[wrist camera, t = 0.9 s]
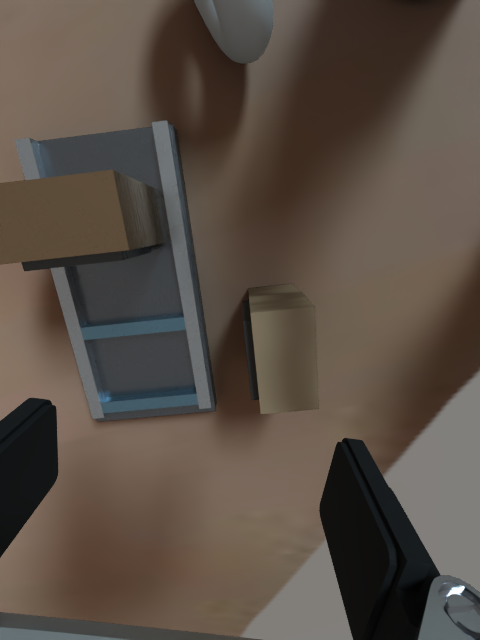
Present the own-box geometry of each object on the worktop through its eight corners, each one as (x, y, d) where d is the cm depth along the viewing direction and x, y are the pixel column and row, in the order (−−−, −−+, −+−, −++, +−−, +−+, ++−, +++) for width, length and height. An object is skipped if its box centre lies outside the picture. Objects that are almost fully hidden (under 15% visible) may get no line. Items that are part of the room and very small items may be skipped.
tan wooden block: (250, 364, 32) (253, 414, 24) (241, 288, 30) (241, 314, 21) (298, 360, 32) (318, 409, 23) (293, 283, 30) (314, 306, 21)
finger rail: (176, 130, 26) (135, 68, 16) (216, 402, 33) (205, 478, 23) (33, 148, 27) (-96, 99, 16) (104, 412, 34) (45, 492, 24)
